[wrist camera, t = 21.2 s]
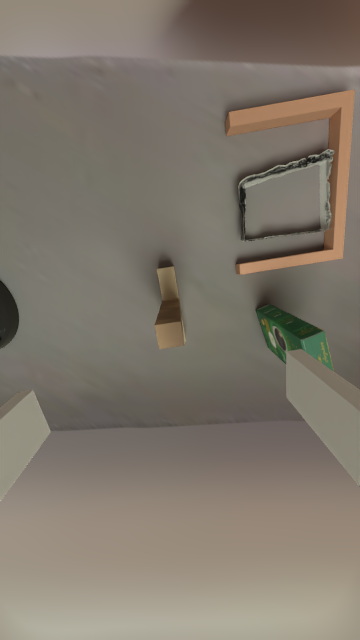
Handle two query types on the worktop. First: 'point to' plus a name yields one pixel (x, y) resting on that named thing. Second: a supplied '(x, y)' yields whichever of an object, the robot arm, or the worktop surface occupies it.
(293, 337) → the coffee box
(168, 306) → the wooden scraper
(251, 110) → the tile bay
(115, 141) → the worktop surface
